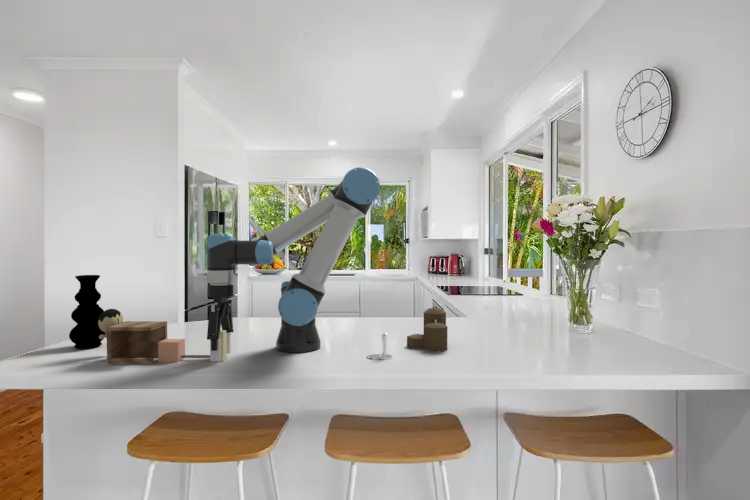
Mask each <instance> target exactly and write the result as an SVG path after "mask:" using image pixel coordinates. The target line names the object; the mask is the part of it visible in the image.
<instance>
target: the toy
mask: <svg viewBox="0 0 750 500" xmlns="http://www.w3.org/2000/svg"><path fill="white" fill-rule="evenodd" d="M122 322H124V315H123V314H122V313H121V311H120V310H118V309H115V308H109V309H105V310H104V312H103V313H102V314H101V315H100V316H99V319H98V325H99V328H100V329H101V330H102V331H103V332H105V333H106V334H105V335H103V334H102V335H100V336H99V339H103V340H104V339H105V338H106V339H107V327H109V326H112V325H116V324H119V323H122Z"/></svg>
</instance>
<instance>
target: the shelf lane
mask: <svg viewBox="0 0 750 500" xmlns="http://www.w3.org/2000/svg"><path fill="white" fill-rule="evenodd" d="M165 339H168V321H166V320H164V321H160V320H159V321H154V320H153V321H148V320H147V321H143V320H141V321H140V320H139V321H136V320H135V321H130V320H129V321H123V322H122V323H119V324H116V325H112V326H109V327H107V338H106V364H107V365H152V364H154V358H155V357H156V358H158V342H160V341H162V340H165ZM153 357H154V358H153Z"/></svg>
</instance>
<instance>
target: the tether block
mask: <svg viewBox="0 0 750 500" xmlns="http://www.w3.org/2000/svg"><path fill="white" fill-rule="evenodd" d="M219 339H220V361H219V362H224V361H226V360H227V354H226V330H222V329H220V334H219ZM157 359H158V360H157V362H158V363H180V362H181V361H183V360H184V359H210V354H209V355H208V354H186V339H185V338H167V339H165V340H162V341H160V342H158V357H157Z"/></svg>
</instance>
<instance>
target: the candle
mask: <svg viewBox="0 0 750 500" xmlns="http://www.w3.org/2000/svg"><path fill="white" fill-rule="evenodd" d="M407 346H408V348H411V349H412V348H414V349H415V350H417V349H418V350H426V349H427V350H426V351H428V350H429V352H438V351H442V352H444V350H445V351H447V350H448V326H447V312H446V311H445V310H444V309H443V308H440V307H437V306H436V303H435V302H434V303H433V307H429V308H427V309H425V310H424V311H423V334H421V333H420V334H419V333H414V334H411V335H407V336H406V347H407ZM416 348H417V349H416ZM419 348H420V349H419ZM414 349H413V350H414Z"/></svg>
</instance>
